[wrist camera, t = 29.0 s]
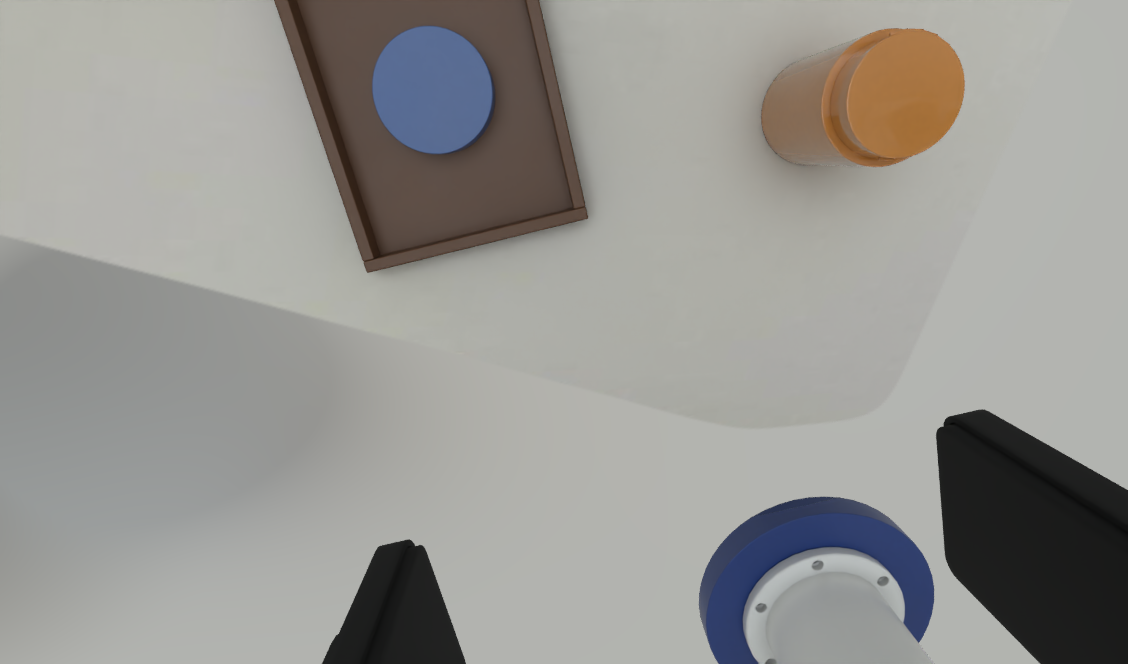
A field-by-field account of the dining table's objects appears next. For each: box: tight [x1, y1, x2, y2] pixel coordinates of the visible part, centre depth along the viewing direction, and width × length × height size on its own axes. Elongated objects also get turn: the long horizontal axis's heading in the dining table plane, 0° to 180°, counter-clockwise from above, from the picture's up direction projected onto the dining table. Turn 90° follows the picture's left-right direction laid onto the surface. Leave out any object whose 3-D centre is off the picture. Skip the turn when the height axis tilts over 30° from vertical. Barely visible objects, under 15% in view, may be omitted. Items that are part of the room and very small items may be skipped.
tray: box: [274, 0, 588, 273], centre depth 33 cm, size 17×13×2 cm
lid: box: [372, 26, 495, 154], centre depth 33 cm, size 6×6×2 cm
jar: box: [761, 28, 965, 167], centre depth 31 cm, size 6×6×10 cm
